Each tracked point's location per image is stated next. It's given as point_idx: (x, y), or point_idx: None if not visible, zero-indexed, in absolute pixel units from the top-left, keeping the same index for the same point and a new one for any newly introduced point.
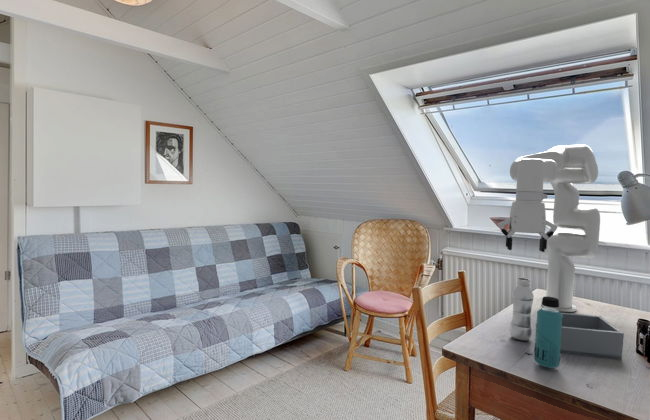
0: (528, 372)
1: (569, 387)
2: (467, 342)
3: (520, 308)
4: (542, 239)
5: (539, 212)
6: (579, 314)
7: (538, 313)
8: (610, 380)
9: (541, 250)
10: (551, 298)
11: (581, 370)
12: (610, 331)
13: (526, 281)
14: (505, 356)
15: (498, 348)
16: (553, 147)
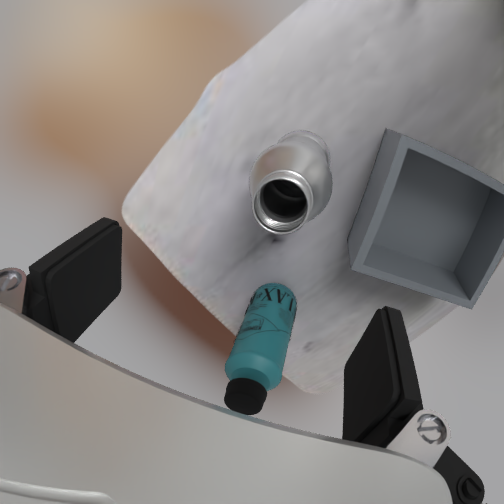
0: (233, 305)
1: None
2: (162, 179)
3: (274, 198)
4: (368, 435)
5: None
6: (489, 177)
7: (225, 368)
8: (359, 337)
9: (351, 359)
10: (241, 409)
11: (337, 308)
12: (455, 298)
13: (278, 233)
14: (218, 247)
15: (219, 210)
16: None
